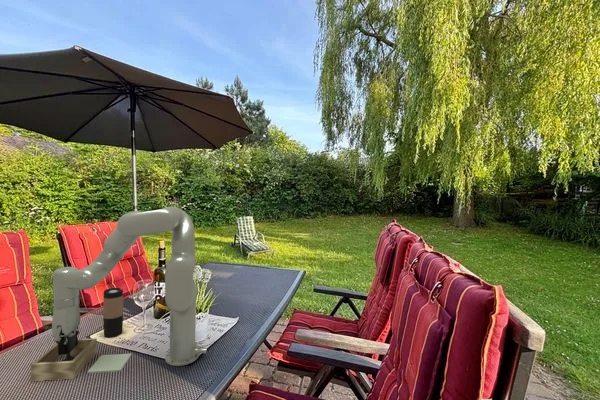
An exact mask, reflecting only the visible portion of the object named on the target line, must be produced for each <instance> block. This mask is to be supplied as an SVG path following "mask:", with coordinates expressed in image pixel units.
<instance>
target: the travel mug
mask: <svg viewBox="0 0 600 400" xmlns="http://www.w3.org/2000/svg"><path fill="white" fill-rule="evenodd" d="M102 311H103V314H102V315H103V317H102V318H103V319H102V320H103V337H104V338H106V339H113V338H117V337H119V336H121V335H122V334H123V330H124V329H123V327H124V326H123V325H124V289H123V288H120V287H111V288H106V289H105V290H104V291H103V310H102Z"/></svg>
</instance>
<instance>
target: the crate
mask: <svg viewBox="0 0 600 400" xmlns="http://www.w3.org/2000/svg"><path fill="white" fill-rule="evenodd" d="M77 339H78V345H77V346H75V348H74V349H73V350H72V351H71V352H70V356H71V357H75V358H74V359H73V360H72V361H62V360H61V361H62V362H61V361H59V359H60V358H62V357H66V356H67V354H66V355H58V345H57V343H56V342H55V344H54V345H53V346H52V347H50V348H49V349H48V350H47V351H45V352H44V353H43V354H42V355H41V356H40V357H39V358H37V359H36V360H35V361H34V362H32V363H31V364H30V376H31V377H30V382H31V381H39V382H45V381H44V380H54V381H62V380H61V379H69V380H75V379H76V377H77V376H78V375H79V374H80V373H81V371H82V370H83V369H84V368H85V367H86V366H87V365H88V363H89V362H91V360H92V359H93V358H94V357H95V356H96V355H97V354H98V353H97V350H98V349H97V345H98V344H97V338H96V337H95V338H80V339H79V338H77ZM58 379H59V380H58Z"/></svg>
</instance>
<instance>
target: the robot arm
mask: <svg viewBox="0 0 600 400" xmlns="http://www.w3.org/2000/svg"><path fill="white" fill-rule="evenodd" d="M194 225H195V224H194V223H193V220H192V218H191V216H190V215H189V214H188V213H187V212H186V211H184V210H182V209H181V208H180V207H176V206H166V207H163V208H160V209H154V210H148V211H139V210H133V211H130V212H126V213H125V214H123V215H121V216H120V217H119V219H117V223H116V227H115V228H114V229H113V231H112V232H111V233H110V234H109V235H108V236H107V237H106V239H104V243H103V244H104V246H103V249H102V251H101V252H100V253H99V254H98V255H97V256H96V258H95V259H94V260H93V261H92V262H91V263H90V264H89V265H87V266H85V267H82V268H80V269H78V267H75V266H65V267H59V268H56V269H55V270H53V273H52V283H53V284H52V285H53V289H52V290H53V312H52V320H51V336H52V337H53V341H54V342H55V344H56V343H57V345H58V355H66V354H68V353H69V343H67V341H68V335H69V334H70V333H71V332H72V331H74V330H76V331H79V326H80V324H81V310H80V290H83V291H85V290H90V289H93V288H94V287H95V286H97V285H98V284H99V283H101V281H103V280H104V279H106V278H107V276H108V275H109V274H110V273H111V272H112V271H113V270H114V269H115V267H116V266H117V265H118V264H119V262H120V261H121V260H122V259H123V258H124V256H125V255H126V254H127V253H128V251H129V250H130V249H131V248H132V247H133V245H134V244H135V243H136V242H137V241H138V239H140V237H143V236H151V235H156V234H163V233H168V232H170V231H171V257H170V259H169V260H168V262H167V263H166V265H165V266H166V267H165V273H164V299H165V304H166V306H167V308H168V309H169V351H168V352H167V353H166V354H165V357H164V361H165V363H166V364H167V365H170V366H173V367H174V366H175V367H181V366H186V365H189V364H192V363H194V362H195V361H196V360H198V359H199V356H200V354H207V351H208V349H207V347H205V345H197V344H198V342H197V341H196V328H197V327H196V322H197V321H196V319H197V298H198V297H197V296H198V288H197V287H198V286H197V284H196V282H195V280H194V272H195V268H196V264H197V263H196V241H195V239H196V237H195V236H196V235H195V227H194ZM62 333H64V335H61V334H62ZM61 337H65V339H61ZM78 339H79V338H78V336H77V337H76V344H75V346H77V345H78Z"/></svg>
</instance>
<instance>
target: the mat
mask: <svg viewBox="0 0 600 400" xmlns="http://www.w3.org/2000/svg"><path fill="white" fill-rule="evenodd" d="M132 355H133V354H132V353H120V354H119V353H118V354H116V353H115V354H101V355H100V356H99V358H97V360H95V362H94V363H93V364H92V366H90V368H89V369H88V371H87V374H98V373H99V374H100V373H103V374H104V373H114V372H115V373H116V372H122V371H123V369H124V367H125V366H126V364H127V363H128V361H129V360H130V358H131V357H132Z"/></svg>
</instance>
